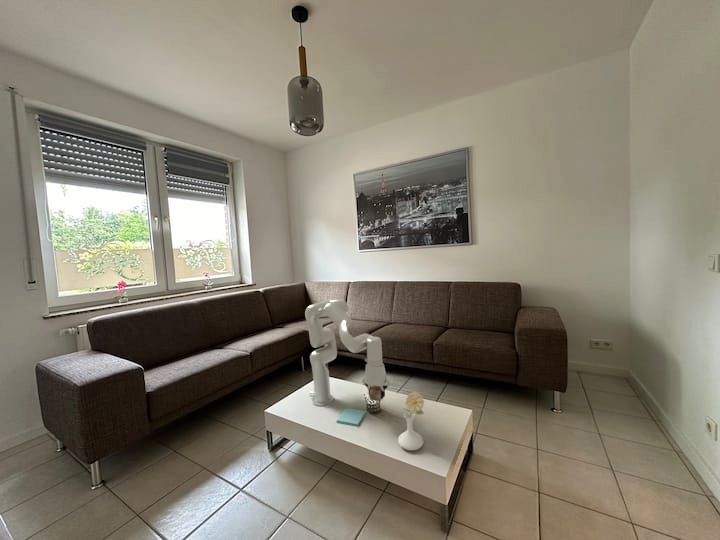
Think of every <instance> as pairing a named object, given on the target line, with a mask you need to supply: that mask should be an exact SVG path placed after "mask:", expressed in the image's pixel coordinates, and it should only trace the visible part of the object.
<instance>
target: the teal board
mask: <svg viewBox="0 0 720 540" xmlns="http://www.w3.org/2000/svg"><path fill="white" fill-rule="evenodd" d="M366 414H367V411H366V410H362V409H361V410H360V409H354V408H347V407H345V408H344V410H343V411H342V413H341V414H340V415H339V417H338V418H337V419H336V423H337V424H343V425H349V426H354V427H359V425H360V423H361V422H362V421H363V419H364V417H365V416H366Z"/></svg>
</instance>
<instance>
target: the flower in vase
mask: <svg viewBox="0 0 720 540" xmlns="http://www.w3.org/2000/svg"><path fill="white" fill-rule="evenodd" d="M404 404H405V405H406V407H407V408H404V407H403V409H404V410H405V411H406V412H405V413H404V412H403V418H404V419H405V420H406V426H407V428H406V430H405V431H404V432H402V433H400V435H399V436H398V438H397V442H398V445H399V446H400V447H401V448H402V449H404V450H407V451H417V450H419V449H421V448H422V447H423V445H424V439H423V437H422V435H420V433H419V432H417V431H415V430H414V428H413V421H414V418H415V416H416V415H424V412H423V407H424V404H425V400H424V398H423V396H422V394H419V393H418V392H416V391H413V392H410V393H409V394H407V396H406V398H405V403H404ZM415 413H416V414H415Z"/></svg>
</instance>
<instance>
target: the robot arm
mask: <svg viewBox="0 0 720 540" xmlns="http://www.w3.org/2000/svg"><path fill="white" fill-rule="evenodd" d="M348 311H349V305H348V303H347V302H346V301H345V300H343V299H335V300H334V299H333V300H326V301H321V302H315V303H313V304H310V305H309V306H307V307H306V309H305V312H304V316H305V320H306V323H307V327H308V335H309V341H310V345H311V347H312V348H316V349H315V350H313V351H312V352H311V353H310V355H309V361H310V364H311V371H312V378H313V379H312V380H313V390H314V391H312V390H311V391H309V397H310V398H311V397H312V404H313V405H315V406H318V407H319V406H320V407H321V406H327V405H329V404H331V403H332V402H333V401H334V396H333V395H332V394H331V385H330V384H331V382H330V372H329V368H328V367H327V366H326V364H328V363H330V362H332V361H334V360H335V359H336V358H337V356H338V348H337V343H336V342H337V341H336V335H335V332H334V330H332V329H331V328H330V327H325V328H324V326H323V321H322V320H321V319H320V318H322V317H328V318H329V319H330V320H331V321H332V322H333V324H334V325H335V326H336V327H337V328H338V331H339V333H338V334H339V337H340V338H339V339H340V341H341V343H342V344H343V345H344V346H345V348H346V349H348V351H349V352H351V353H353V354H358V353H360V352H361V351H365V350H366V358H364V361H365V363H366V364H365V371H364V377H363V379H362V380H361V382H362V384H363V385H364V386H365V387H366V388H367V390H368V396H369V397H370V389H371V387H372V386H380V387H381V399H382V400H383V399H384V397H386V389H387V388H388V387H390V386H391V384H392V383H391V382H390V380H388V379H389V378H387V372H386V368H385V364H384V363H383V348H382V343H383V342H382V339H381V337H379V336H373V335H371V334H369V333H362V334H360V335H357V336H353V335H352V334H350V332H349V330H348V328H349V326H350V325H351V323H352V318H351V317H350V316H349V314H348ZM322 346H323V347H322ZM317 348H318V349H317Z"/></svg>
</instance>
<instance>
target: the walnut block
mask: <svg viewBox="0 0 720 540" xmlns="http://www.w3.org/2000/svg"><path fill="white" fill-rule="evenodd" d="M369 400H370V401H377V402H378V401H379V402H381V401H382V400H383V399H381V387H380V386H371V389H370V396H369Z"/></svg>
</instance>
